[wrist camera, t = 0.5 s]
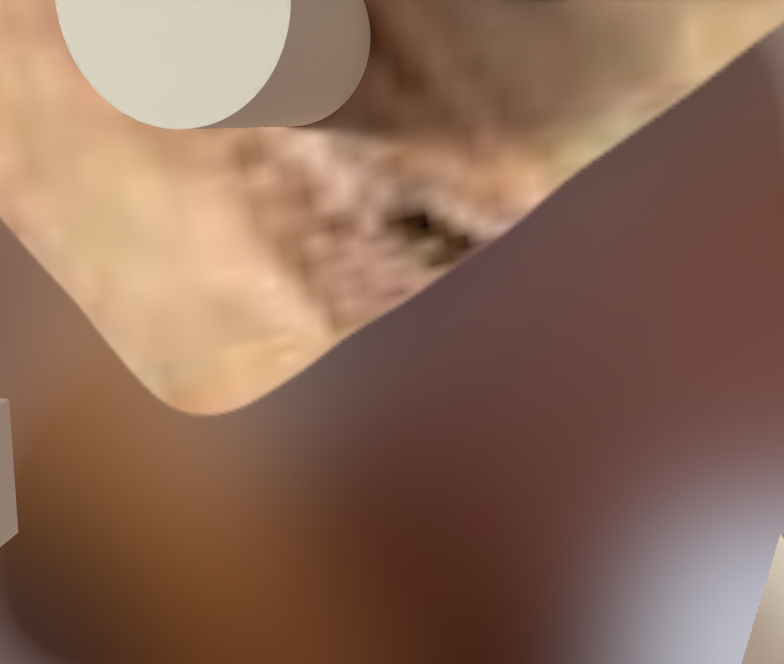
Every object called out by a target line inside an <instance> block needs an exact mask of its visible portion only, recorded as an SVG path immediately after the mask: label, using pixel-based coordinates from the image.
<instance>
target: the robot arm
mask: <svg viewBox="0 0 784 664" xmlns="http://www.w3.org/2000/svg"><path fill="white" fill-rule="evenodd" d="M16 533H18V524H17V510H16V497H15V483H14V468H13V455H12V440H11V426H10V412H9V400H8V399H3V398H0V547H1V546H2V545H3V544H4V543H6V542H7V541H8V540H9V539H10V538H12V537H13V536H14V535H15V534H16ZM742 664H784V534H780V538H779V541H778V544H777V548H776V551H775V554H774V558H773V561H772V564H771V567H770V571H769V574H768V577H767V581H766V584H765V588H764V591H763V594H762V598H761V601H760V604H759V607H758V612H757V614H756V617H755V621H754V624H753V627H752V631H751V634H750V637H749V641H748V644H747V647H746V651H745V654H744V657H743V661H742Z"/></svg>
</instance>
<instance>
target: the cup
mask: <svg viewBox="0 0 784 664" xmlns="http://www.w3.org/2000/svg"><path fill="white" fill-rule="evenodd" d="M55 2H56V9H57V15H58V19H59V23H60V27H61V30H62V33H63V36H64V39H65V42H66V44H67V47H68V49H69V51H70V53H71V55H72V57H73V59H74V61H75V63H76V64H77V66H78V68H79V69H80V71H81V72H82V74H83V75H84V77H85V78H86V79H87V81H88V82H89V83H90V84H91V85H92V87H93V88H94V89H95V90H96V91H97V92H98V93H99V94H100V95H101V96H102V97H103V98H104V99H105V100H106V101H108V102H109V103H110V104H111V105H113V106H114V107H115V108H117V109H118V110H120V111H121V112H123V113H125V114H126V115H128V116H130V117H132V118H134V119H136V120H138V121H141V122H144V123H146V124H150V125H153V126H157V127H162V128H169V129H209V128H250V127H291V126H302V125H307V124H311V123H314V122H317V121H319V120H322V119H324V118H326V117H328V116H329V115H331V114H332V113H334V112H335V111H336V110H338V109H339V108H340V107H341V106H342V105H343V104H344V103H345V102H346V101H347V100H348V99H349V98H350V97H351V95H352V94H353V92H354V91H355V90H356V88H357V86H358V85H359V83H360V81H361V79H362V77H363V74H364V71H365V69H366V65H367V62H368V57H369V52H370V39H371V34H370V23H369V17H368V12H367V9H366V5H365V3H364V0H55Z"/></svg>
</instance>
